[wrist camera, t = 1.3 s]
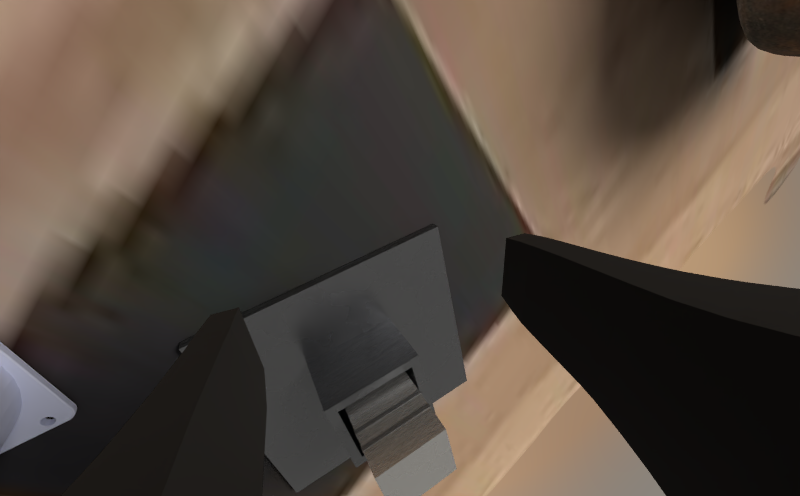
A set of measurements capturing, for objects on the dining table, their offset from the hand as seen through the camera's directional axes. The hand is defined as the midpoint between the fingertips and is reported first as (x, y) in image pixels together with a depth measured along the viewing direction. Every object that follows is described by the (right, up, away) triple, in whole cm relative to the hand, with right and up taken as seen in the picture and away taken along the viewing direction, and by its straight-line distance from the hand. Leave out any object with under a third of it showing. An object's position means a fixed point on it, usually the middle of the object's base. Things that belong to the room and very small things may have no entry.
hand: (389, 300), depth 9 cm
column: (-3, -7, +15) cm, 17 cm away
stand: (-3, -7, +15) cm, 17 cm away
